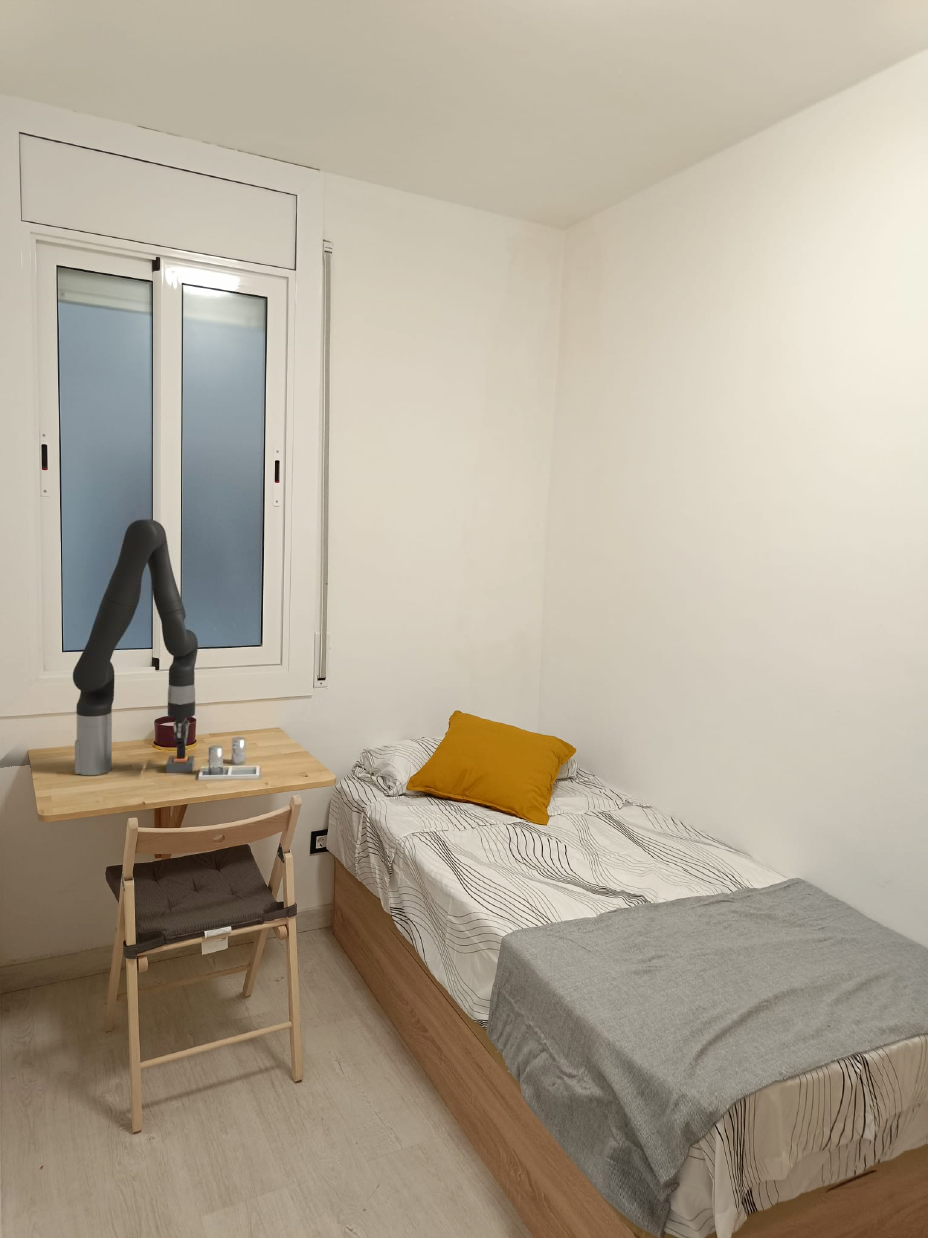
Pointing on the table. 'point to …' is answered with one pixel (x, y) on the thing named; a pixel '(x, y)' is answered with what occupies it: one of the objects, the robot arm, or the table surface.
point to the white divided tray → (232, 773)
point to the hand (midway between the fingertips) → (181, 758)
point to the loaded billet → (215, 760)
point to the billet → (238, 750)
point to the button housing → (180, 765)
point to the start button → (180, 759)
